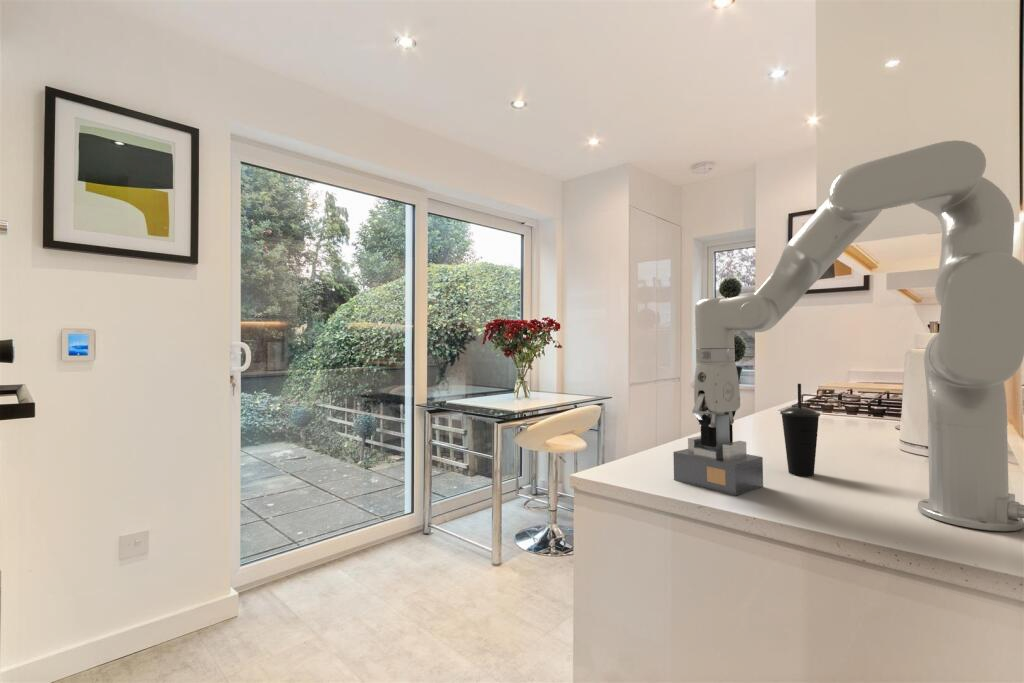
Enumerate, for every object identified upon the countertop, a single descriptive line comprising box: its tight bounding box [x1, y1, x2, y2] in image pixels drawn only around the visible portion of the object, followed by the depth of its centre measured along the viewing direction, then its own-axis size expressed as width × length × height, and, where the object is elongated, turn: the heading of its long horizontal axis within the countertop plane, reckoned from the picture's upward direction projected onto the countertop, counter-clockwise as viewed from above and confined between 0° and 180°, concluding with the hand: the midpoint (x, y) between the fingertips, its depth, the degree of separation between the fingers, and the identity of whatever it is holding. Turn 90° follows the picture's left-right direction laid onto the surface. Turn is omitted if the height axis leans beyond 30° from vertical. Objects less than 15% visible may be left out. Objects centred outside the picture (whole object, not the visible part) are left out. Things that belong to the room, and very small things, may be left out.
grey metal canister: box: [704, 409, 730, 450], centre depth 101 cm, size 5×5×8 cm
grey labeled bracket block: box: [672, 435, 764, 497], centre depth 101 cm, size 14×10×9 cm
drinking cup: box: [779, 383, 821, 478], centre depth 107 cm, size 8×8×20 cm
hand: (716, 443), depth 101 cm, fingers closed on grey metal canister, 5 cm apart
